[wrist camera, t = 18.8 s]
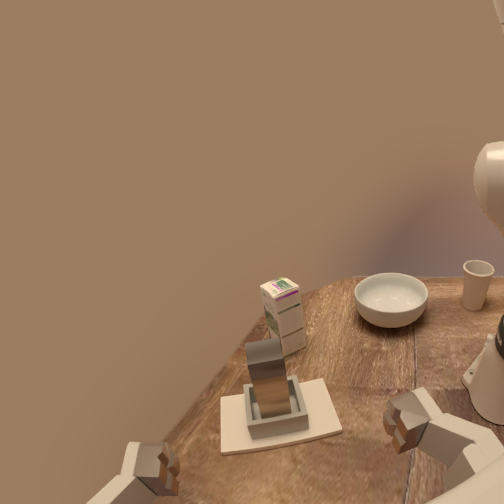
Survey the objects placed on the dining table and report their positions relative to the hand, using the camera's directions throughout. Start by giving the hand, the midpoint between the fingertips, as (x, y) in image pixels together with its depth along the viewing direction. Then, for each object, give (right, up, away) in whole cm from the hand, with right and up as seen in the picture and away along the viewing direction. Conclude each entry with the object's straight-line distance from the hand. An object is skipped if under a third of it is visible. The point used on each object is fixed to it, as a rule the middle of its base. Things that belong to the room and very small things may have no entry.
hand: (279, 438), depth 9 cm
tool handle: (+3, -19, +32) cm, 38 cm away
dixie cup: (+52, -6, +46) cm, 70 cm away
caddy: (+3, -20, +33) cm, 38 cm away
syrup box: (+7, -13, +50) cm, 52 cm away
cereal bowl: (+30, -8, +51) cm, 60 cm away
